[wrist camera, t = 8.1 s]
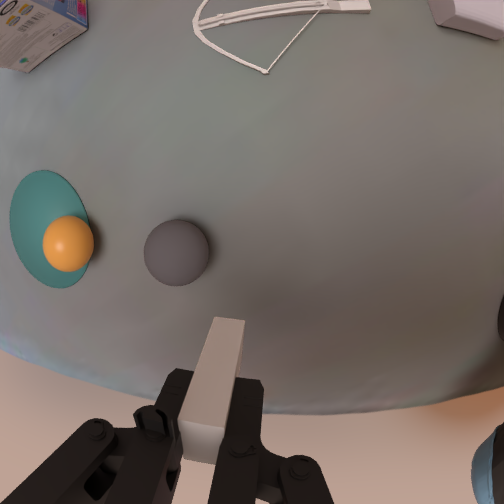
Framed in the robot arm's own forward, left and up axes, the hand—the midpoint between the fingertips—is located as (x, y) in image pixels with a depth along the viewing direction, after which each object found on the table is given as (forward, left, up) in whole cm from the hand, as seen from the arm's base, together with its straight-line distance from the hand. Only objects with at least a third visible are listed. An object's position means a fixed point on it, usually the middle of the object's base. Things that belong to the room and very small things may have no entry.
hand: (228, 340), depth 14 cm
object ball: (+12, +12, -10) cm, 20 cm away
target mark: (+17, +16, -13) cm, 27 cm away
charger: (+7, -39, -14) cm, 41 cm away
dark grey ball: (+4, +4, -10) cm, 12 cm away
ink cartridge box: (+33, 0, -13) cm, 36 cm away
